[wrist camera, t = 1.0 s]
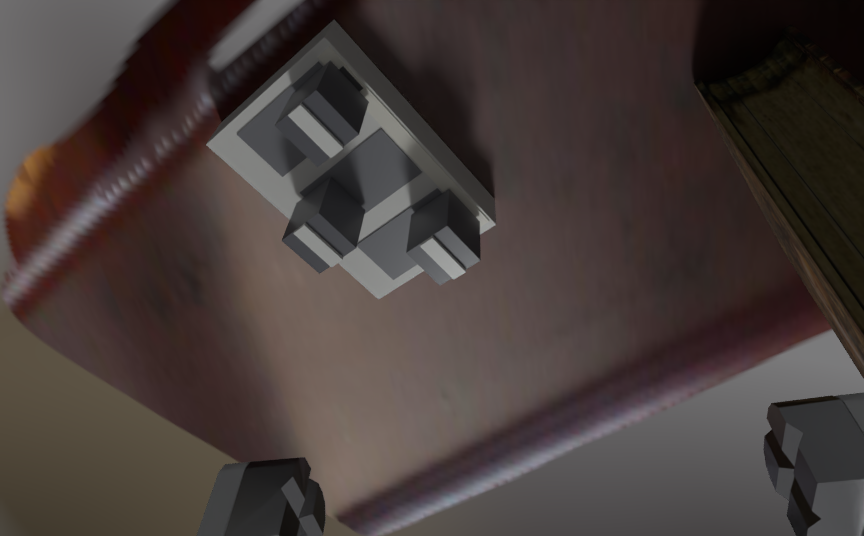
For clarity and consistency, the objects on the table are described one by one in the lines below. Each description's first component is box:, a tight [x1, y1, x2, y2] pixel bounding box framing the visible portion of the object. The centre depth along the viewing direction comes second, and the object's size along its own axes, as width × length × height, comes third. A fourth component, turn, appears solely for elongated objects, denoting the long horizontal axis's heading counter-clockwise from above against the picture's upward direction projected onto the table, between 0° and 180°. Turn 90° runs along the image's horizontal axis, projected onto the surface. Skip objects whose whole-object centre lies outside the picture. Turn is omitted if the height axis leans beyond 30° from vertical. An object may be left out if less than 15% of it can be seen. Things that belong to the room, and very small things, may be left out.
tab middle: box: [282, 177, 365, 274], centre depth 39 cm, size 3×3×4 cm
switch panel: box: [206, 20, 496, 299], centre depth 42 cm, size 10×15×3 cm, turn 40°
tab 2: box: [406, 189, 480, 285], centre depth 39 cm, size 3×3×4 cm
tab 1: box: [275, 60, 369, 167], centre depth 35 cm, size 3×3×4 cm
